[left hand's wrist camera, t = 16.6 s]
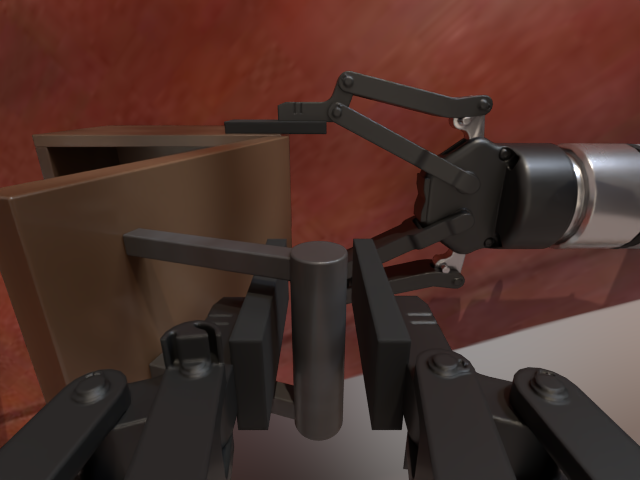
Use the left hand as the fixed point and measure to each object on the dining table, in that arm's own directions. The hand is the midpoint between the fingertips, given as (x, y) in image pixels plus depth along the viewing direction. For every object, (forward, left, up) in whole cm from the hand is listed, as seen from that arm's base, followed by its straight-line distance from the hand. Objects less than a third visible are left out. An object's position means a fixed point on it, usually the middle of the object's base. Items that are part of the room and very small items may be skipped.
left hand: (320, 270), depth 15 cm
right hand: (-5, +3, -12) cm, 14 cm away
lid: (-5, +3, -2) cm, 6 cm away
